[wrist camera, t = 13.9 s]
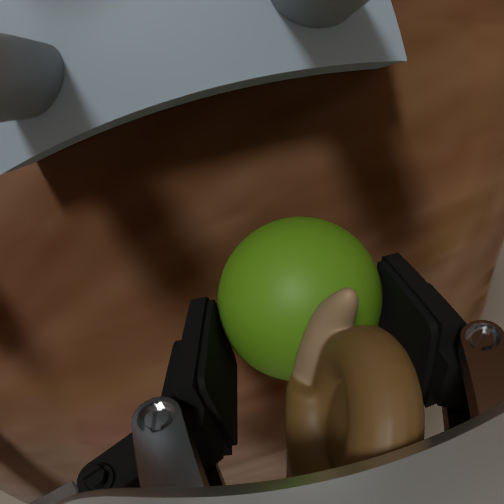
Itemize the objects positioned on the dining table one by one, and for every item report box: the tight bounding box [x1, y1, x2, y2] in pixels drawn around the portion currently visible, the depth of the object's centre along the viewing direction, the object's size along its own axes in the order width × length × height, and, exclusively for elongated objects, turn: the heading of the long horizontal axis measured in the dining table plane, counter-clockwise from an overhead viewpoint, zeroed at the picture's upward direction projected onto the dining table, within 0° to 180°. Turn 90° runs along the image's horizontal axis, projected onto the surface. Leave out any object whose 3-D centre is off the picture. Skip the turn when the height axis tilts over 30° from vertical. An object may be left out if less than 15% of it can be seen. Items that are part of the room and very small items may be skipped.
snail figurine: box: [218, 217, 424, 478], centre depth 8 cm, size 5×6×12 cm
